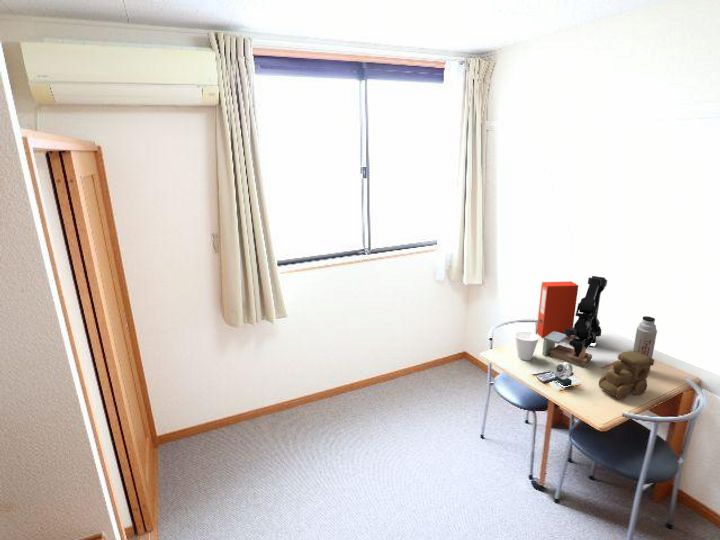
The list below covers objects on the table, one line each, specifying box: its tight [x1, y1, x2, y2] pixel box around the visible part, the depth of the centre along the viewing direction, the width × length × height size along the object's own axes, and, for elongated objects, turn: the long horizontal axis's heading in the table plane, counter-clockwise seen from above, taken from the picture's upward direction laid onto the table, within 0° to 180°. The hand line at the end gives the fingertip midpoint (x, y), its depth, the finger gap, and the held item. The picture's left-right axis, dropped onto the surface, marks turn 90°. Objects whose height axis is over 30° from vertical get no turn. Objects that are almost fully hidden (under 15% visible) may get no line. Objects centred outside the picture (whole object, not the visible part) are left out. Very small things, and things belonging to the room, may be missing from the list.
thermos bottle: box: [632, 315, 658, 375], centre depth 200 cm, size 8×8×28 cm
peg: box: [579, 347, 587, 359], centre depth 213 cm, size 4×4×8 cm
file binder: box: [536, 280, 579, 339], centre depth 241 cm, size 8×17×32 cm, turn 90°
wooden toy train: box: [598, 350, 655, 401], centre depth 185 cm, size 20×11×17 cm, turn 109°
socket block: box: [549, 344, 593, 369], centre depth 216 cm, size 10×17×4 cm, turn 42°
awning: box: [541, 331, 569, 357], centre depth 222 cm, size 12×8×10 cm, turn 132°
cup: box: [514, 330, 540, 361], centre depth 218 cm, size 12×12×12 cm
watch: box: [554, 361, 574, 386], centre depth 192 cm, size 6×8×11 cm
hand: (580, 353), depth 213 cm, fingers open, 9 cm apart
